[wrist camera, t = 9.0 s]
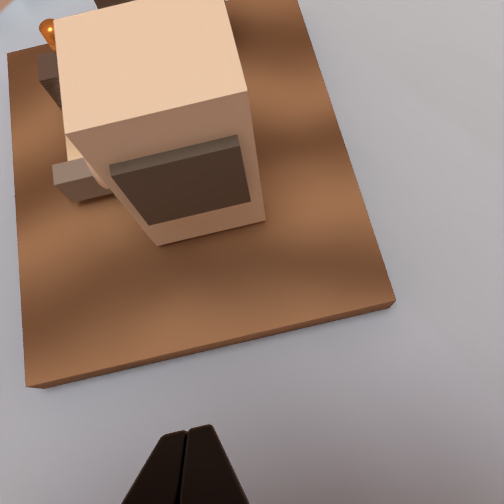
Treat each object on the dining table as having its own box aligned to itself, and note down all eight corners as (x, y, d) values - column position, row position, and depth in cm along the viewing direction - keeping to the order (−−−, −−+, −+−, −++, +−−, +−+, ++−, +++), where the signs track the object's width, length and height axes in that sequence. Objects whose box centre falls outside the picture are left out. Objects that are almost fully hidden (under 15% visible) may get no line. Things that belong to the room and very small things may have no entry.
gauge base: (389, 307, 21) (437, 255, 14) (43, 388, 21) (-80, 376, 14) (292, 7, 27) (291, -135, 20) (22, 71, 27) (-73, -48, 20)
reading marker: (121, 98, 24) (85, 31, 19) (63, 112, 24) (14, 48, 19) (118, 74, 24) (81, 4, 20) (60, 88, 24) (12, 20, 20)
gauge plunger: (267, 228, 21) (250, 102, 12) (81, 272, 21) (-63, 177, 13) (247, 144, 22) (218, -20, 14) (72, 185, 22) (-63, 47, 14)
